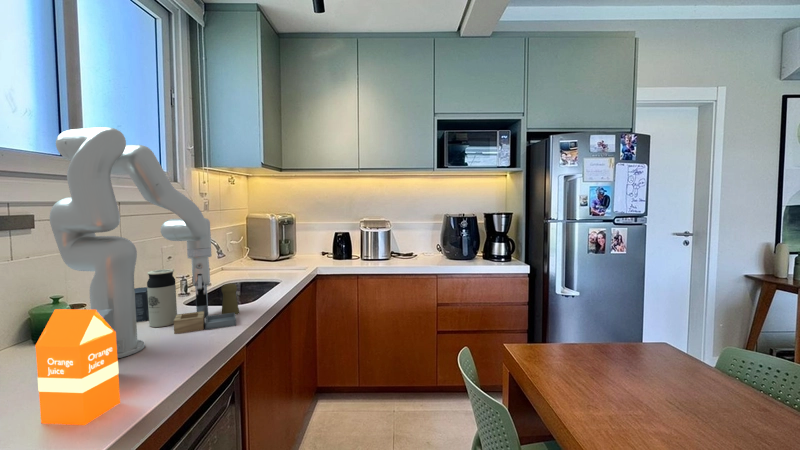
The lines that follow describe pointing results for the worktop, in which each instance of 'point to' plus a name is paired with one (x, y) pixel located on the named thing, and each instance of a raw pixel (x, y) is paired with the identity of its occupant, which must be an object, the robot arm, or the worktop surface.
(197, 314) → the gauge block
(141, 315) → the box
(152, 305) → the travel mug
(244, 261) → the worktop surface
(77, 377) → the orange juice
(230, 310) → the olive green tall block
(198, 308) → the silver rectangular bar
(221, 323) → the tray
